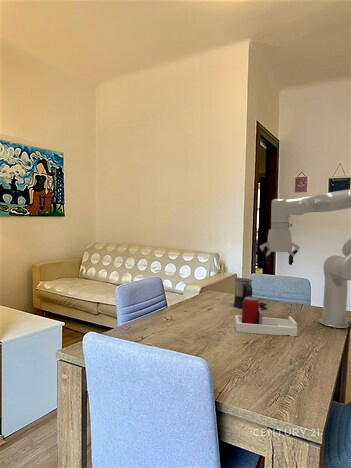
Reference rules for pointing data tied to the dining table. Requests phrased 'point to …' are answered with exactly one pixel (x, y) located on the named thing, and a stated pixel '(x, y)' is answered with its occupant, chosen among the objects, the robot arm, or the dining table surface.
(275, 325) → the pusher
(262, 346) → the dining table surface
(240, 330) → the white tray
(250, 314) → the beverage can
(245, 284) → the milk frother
